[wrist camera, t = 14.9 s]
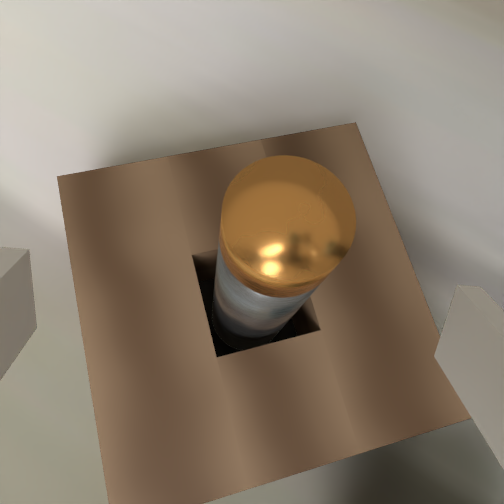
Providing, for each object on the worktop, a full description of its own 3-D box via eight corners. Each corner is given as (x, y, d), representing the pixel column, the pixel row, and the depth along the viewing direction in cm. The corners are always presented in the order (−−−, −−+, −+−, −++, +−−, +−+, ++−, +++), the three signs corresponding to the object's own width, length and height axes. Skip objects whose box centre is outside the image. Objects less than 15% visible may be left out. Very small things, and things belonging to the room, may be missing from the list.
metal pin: (270, 274, 28) (331, 145, 15) (289, 340, 27) (375, 262, 14) (204, 290, 27) (207, 168, 14) (221, 358, 26) (241, 294, 13)
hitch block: (332, 167, 31) (355, 122, 26) (423, 418, 26) (472, 418, 21) (81, 217, 28) (56, 176, 23) (131, 509, 23) (113, 532, 18)
